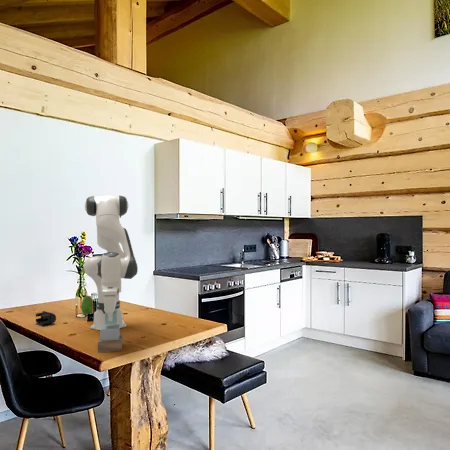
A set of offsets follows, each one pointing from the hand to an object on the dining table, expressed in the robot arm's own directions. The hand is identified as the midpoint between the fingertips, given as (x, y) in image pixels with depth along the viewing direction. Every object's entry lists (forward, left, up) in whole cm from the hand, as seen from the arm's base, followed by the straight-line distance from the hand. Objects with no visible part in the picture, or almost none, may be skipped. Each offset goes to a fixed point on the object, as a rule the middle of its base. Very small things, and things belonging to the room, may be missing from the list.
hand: (111, 319), depth 177 cm
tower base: (0, 0, -14) cm, 14 cm away
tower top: (0, 0, -8) cm, 9 cm away
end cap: (-53, -39, -13) cm, 67 cm away
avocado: (-73, -19, -13) cm, 77 cm away
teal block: (0, 0, -2) cm, 2 cm away
